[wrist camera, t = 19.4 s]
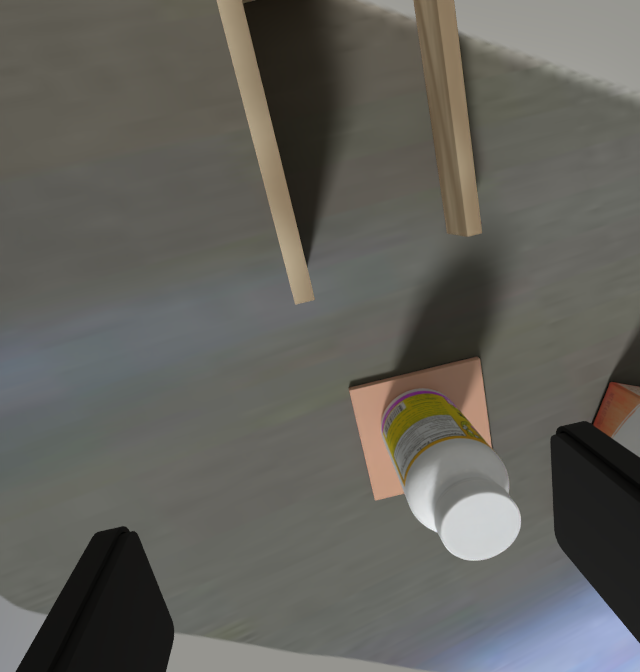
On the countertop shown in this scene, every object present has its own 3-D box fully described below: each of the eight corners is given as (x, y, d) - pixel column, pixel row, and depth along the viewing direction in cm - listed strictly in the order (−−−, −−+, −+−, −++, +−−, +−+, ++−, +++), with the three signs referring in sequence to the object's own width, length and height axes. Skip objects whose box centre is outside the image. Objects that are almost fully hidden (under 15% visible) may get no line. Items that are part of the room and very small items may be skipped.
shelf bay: (294, 271, 33) (295, 304, 21) (222, -11, 28) (173, -168, 16) (460, 230, 33) (550, 242, 21) (420, -61, 27) (513, -255, 16)
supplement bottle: (461, 445, 37) (543, 561, 25) (387, 463, 38) (433, 587, 25) (450, 376, 36) (533, 464, 23) (371, 395, 36) (414, 493, 23)
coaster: (373, 496, 39) (375, 500, 39) (348, 387, 36) (349, 390, 35) (492, 467, 39) (494, 471, 38) (476, 356, 36) (479, 358, 35)
